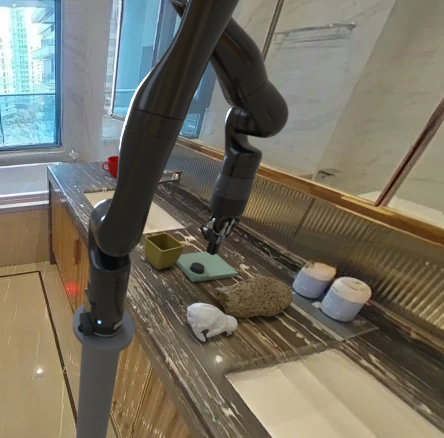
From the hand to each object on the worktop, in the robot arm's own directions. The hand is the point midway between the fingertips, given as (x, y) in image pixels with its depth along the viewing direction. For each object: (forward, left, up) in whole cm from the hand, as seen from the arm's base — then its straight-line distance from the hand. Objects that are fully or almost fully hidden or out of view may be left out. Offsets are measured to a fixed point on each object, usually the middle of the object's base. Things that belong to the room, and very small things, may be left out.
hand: (211, 252), depth 74 cm
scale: (+9, +11, -14) cm, 20 cm away
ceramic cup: (+11, +97, -15) cm, 99 cm away
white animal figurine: (-5, -12, -15) cm, 20 cm away
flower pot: (-4, +15, -15) cm, 21 cm away
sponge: (+12, -6, -15) cm, 20 cm away
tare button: (+3, +7, -12) cm, 14 cm away
